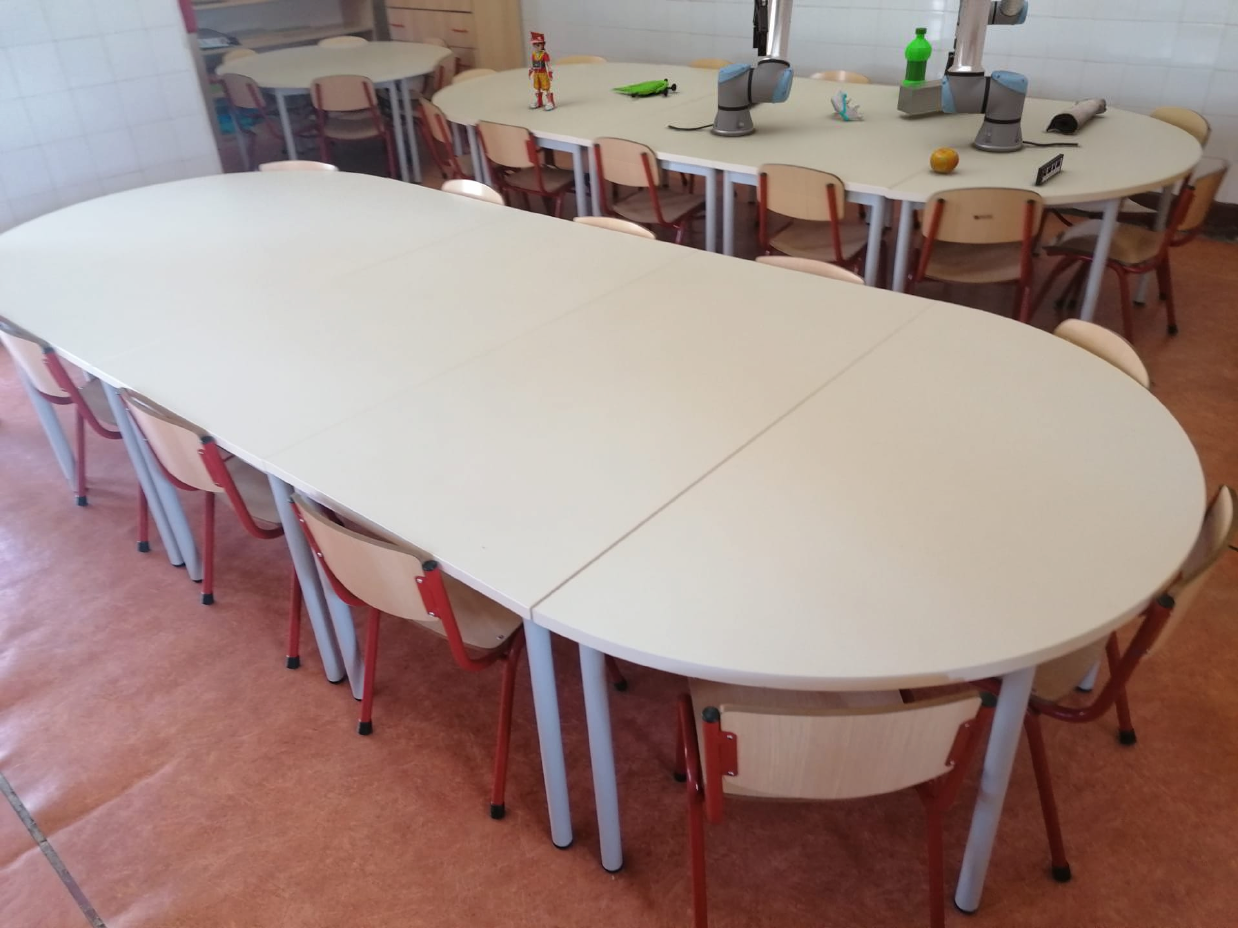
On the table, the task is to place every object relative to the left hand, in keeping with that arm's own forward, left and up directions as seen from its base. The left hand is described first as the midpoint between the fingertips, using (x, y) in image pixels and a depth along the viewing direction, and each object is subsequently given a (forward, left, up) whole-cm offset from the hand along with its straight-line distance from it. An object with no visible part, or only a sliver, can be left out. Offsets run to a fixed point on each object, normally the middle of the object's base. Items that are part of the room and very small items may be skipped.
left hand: (759, 52), depth 293 cm
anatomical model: (+13, +56, -33) cm, 66 cm away
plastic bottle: (+28, +96, -33) cm, 105 cm away
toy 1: (-112, +31, -33) cm, 120 cm away
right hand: (+49, +78, -29) cm, 97 cm away
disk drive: (-32, +60, -33) cm, 76 cm away
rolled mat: (+93, +72, -33) cm, 122 cm away
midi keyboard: (+94, +6, -33) cm, 100 cm away
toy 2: (-85, +69, -33) cm, 114 cm away
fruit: (+64, +2, -33) cm, 71 cm away
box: (+42, +71, -30) cm, 88 cm away
